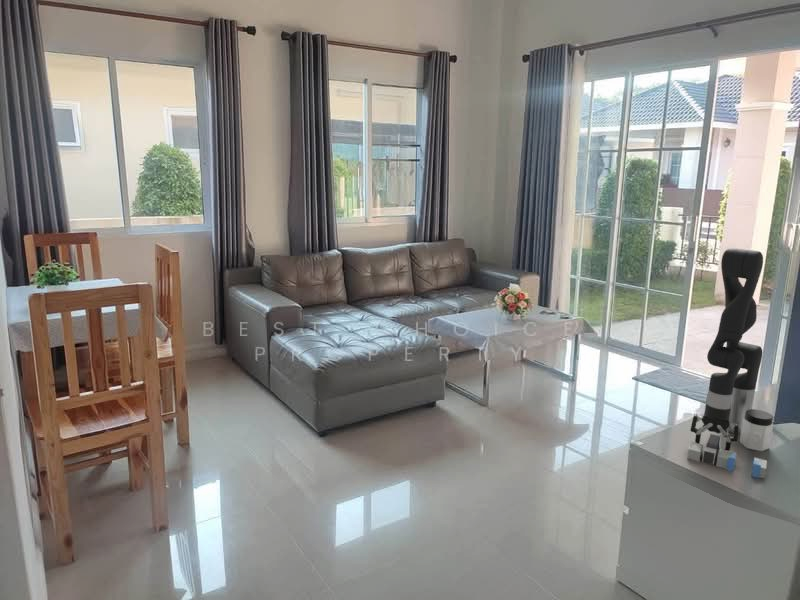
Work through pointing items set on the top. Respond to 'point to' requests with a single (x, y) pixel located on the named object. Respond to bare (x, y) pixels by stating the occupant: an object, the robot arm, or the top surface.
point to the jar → (756, 430)
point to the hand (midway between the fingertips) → (711, 447)
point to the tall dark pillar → (711, 449)
